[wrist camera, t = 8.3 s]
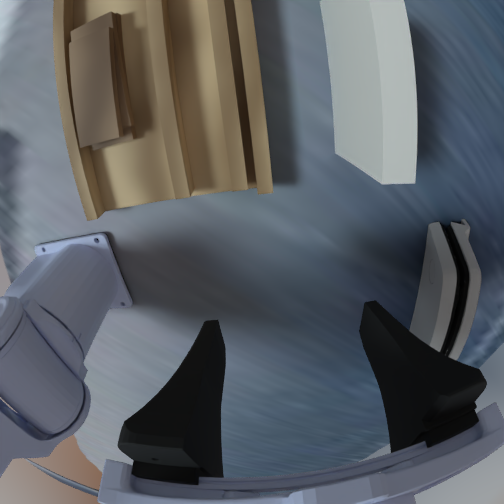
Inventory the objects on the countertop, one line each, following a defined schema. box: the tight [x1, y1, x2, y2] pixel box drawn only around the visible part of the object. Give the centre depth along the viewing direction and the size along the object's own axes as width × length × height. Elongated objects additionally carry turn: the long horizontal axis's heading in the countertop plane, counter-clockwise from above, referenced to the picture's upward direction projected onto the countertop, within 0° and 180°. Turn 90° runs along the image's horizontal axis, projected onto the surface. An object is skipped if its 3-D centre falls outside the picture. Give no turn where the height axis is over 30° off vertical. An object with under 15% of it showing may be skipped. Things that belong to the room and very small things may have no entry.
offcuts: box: [69, 11, 137, 151], centre depth 14 cm, size 4×10×2 cm, turn 6°
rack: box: [53, 0, 273, 221], centre depth 14 cm, size 14×20×3 cm
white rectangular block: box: [320, 0, 417, 184], centre depth 13 cm, size 2×12×8 cm, turn 7°
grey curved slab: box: [409, 219, 481, 360], centre depth 23 cm, size 17×5×10 cm, turn 11°
